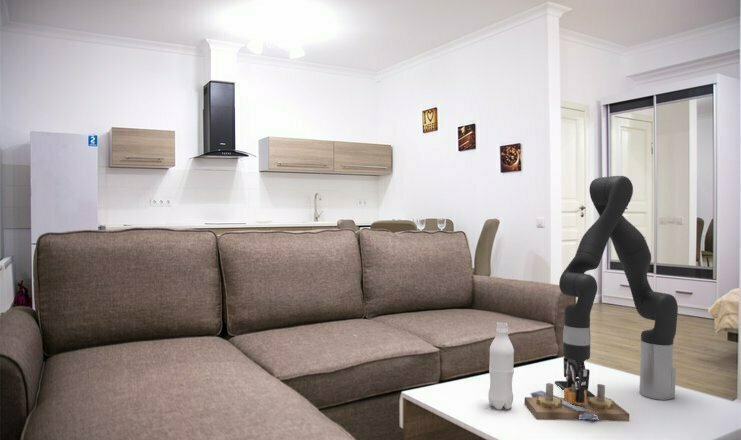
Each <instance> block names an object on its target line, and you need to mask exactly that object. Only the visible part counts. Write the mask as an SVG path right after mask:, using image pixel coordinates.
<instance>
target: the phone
mask: <svg viewBox="0 0 741 440" xmlns="http://www.w3.org/2000/svg"><path fill="white" fill-rule="evenodd" d="M567 382H568V381H566V380H555V381H554V385H555V384H556V385H557V386H556V385H555V386H556V387H558V386H559V387H560V388H561V389H562V390H564V388H567ZM559 387H558V388H559ZM560 388H559V389H560ZM561 389H560V390H561ZM562 390H561V391H562ZM585 391H586V398H588V397H591V398H592V397H594V396H596V395H595V394H593V393H592V392H591V391H590V390H589V389H588V390H585Z"/></svg>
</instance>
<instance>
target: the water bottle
mask: <svg viewBox="0 0 741 440" xmlns="http://www.w3.org/2000/svg"><path fill="white" fill-rule="evenodd" d="M508 329H509V328H508V323H507V322H501V321H500V322H496V330H495V331H496V335H495V336H494V339H493V340H492V342H491V344H490V346H489V367H488V372H489V381H490V383H489V388H488V389H489V390H488V401H489V405H490V406H491V407H492V408H493V407H494V408H495V409H497V410H502V409H503V407H504V409H505V410H509V409H511V407H512V405H513V402H514V394H513V377H514V373H515V369H514V358H515V357H514V355H515V348H514V346H513V344H512V341H511V340H510V337H509V334H508V333H509V330H508Z"/></svg>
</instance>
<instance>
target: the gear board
mask: <svg viewBox="0 0 741 440" xmlns="http://www.w3.org/2000/svg"><path fill="white" fill-rule="evenodd" d="M572 392H574V393H576V386H575V384H572ZM596 392H597V394H596V395H595V396H594V397H592V398H591V397H588V398H586V404H581V405H577V404H572V405H575V406H580V407H583V408H585V409H588V410H591V411H590V412H589V411H576V410H572V409H568V408H566V407H564V406H562V399H563V400H564V397H557V396H555V395H554V384H553V383H551V382H548V383H546V384H545V395H544V394H543V395H542V396H540V395H538V396H536V397H535V396H524V405H525V406H526V408H527V409H528V410H529V411H530V412H531V414H532V415H533V417H534V418H535V419H536V420H555V419H579V415H580V414H584V413H587V414H595V415H597V416H598V419H599V420H598V421H602V420H609V422H611V421H612V422H613V421H614V422H630V413H629V412H628V411H626V410H625V409H624V408H623V407H621V406H620V405H619V404H617V402H615V401H614V400H612V399H611V398H608V397H606V396H605V394H606V393H605V392H606V385H605V384H601V383H599V384H597V391H596ZM558 398H560V399H558Z"/></svg>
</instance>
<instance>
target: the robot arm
mask: <svg viewBox="0 0 741 440" xmlns="http://www.w3.org/2000/svg"><path fill="white" fill-rule="evenodd" d="M633 185H634V184H632V180H630V179H629V177H627V176H624V175H612V176H604V177H603V176H602V177H596V178H594V179H593V180H592V181H591V182H590V184H589V188H588V189H589V196H590V199H591V202H592V204H593V206H594V208H595V210H596V211H597V214H598V215H599V217H598V219H596V221H595V222H594V223H593V224H592V225H591V226H590V227H588V229H587V230H586V231H585V233H584V234H583V236H582V237H581V239H580V241H579V244H578V246H577V247H578V248H577V249H576V252H575V255H574V257H573V259H571V261H570V262H569V264H568V265H567V266H566V268H564V271H562V273H561V276H560V278H559V283H558V285H559V290H560V291H561V293H562V294H563V295H565V296H567V297H569V296H570V297H575V298H577V300H576V303H574V304H568V305H566V306H565V308H564V314H563V315H564V317H563V318H564V319H563V331H562V357H563V377H564V378H565V381H568V382H567V388H570V387H572V384H575V386H576V398H575V401H576V402H577V403H583V402H584V390H588V391H589V383H590V373H591V372H590V369H589V368H586V365H585V361H587V360H590V359H591V340H592V337H591V336H592V335H591V312H592V310H593V309H592V308H593V306H594V302H595V299H596V296H597V292H598V282H597V280H596V278H595V277H594V276H593V275H591V274H587V273H586V272H588V271H593V270H596V269H598V268H599V266H600V263H601V261H602V257H603V255H604V253H605V251H606V250H605V249H606V247H607V244H608V242H609V240H611V242H612V245H613V247H614V250H615V252H616V253H615V254H616V255H617V258H618V260H619V262H620V265H621V266H622V269H623V272H624V275H625V277H626V281H627V283H628V285H629V290H630V293H631V297H632V300H633V303H634V307H635V309H636V311H637V314H638V315H639V316H640V317H642V318H643V319H646V320H650V321H654V325H653V328H652V329H647V330H643V331H641V333H640V356H639V357H640V362H639V363H640V364H639V365H640V366H639V367H640V368H639V394H640V395H642V396H643V397H646V398H649V399H653V400H659V401H660V400H661V401H662V400H663V401H666V400H671V399H675V398H676V377H677V376H676V372H677V371H676V370H677V369H676V368H675V367H674V339H675V336H676V334H677V326H678V325H677V324H678V323H677V322H678V315H679V314H678V312H679V308H678V302H677V299H676V297H675V296H674V295H673V294H670V293H665V292H660V291H654V290H653V289H652V287H651V285H650V283H649V280H648V279H649V278H648V271H649V270H650V266H651V263H652V253H651V251H650V248H649V245H648V242H647V239H646V238H645V237H644V235H643V234H642V232H641V231H640V230H639V229H638V228H637V227H636V226H634V225H633V224H632V223H631V222H630V221H629V220H628V219H626V218H625V217H624V215H623V214H624V213H625V211H626V209H627V208H628V206H629V204H630V202H631V200H632V197H633V194H634V186H633Z"/></svg>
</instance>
